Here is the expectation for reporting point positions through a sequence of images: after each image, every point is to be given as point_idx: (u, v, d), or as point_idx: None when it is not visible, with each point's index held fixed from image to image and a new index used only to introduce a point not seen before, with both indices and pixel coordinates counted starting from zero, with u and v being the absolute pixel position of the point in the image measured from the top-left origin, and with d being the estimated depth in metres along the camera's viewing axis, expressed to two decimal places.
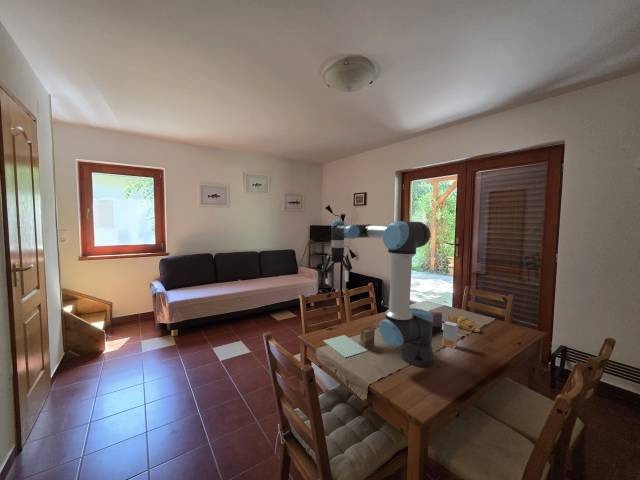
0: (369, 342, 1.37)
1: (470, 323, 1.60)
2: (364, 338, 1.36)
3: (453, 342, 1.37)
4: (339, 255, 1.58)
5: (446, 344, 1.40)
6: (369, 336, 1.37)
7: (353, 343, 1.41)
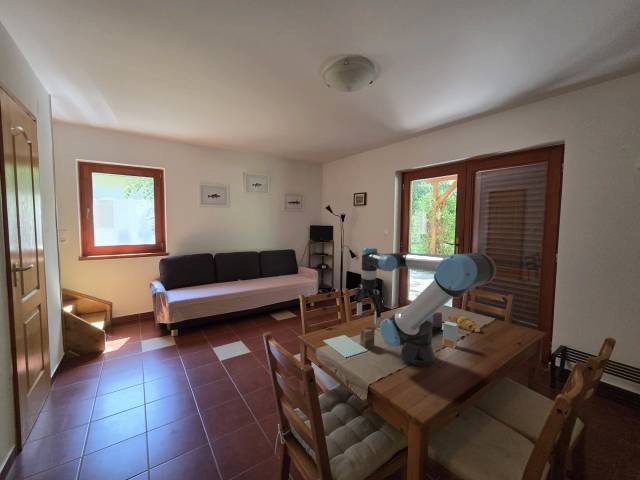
0: (369, 342, 1.37)
1: (470, 323, 1.60)
2: (364, 338, 1.36)
3: (453, 342, 1.37)
4: (367, 288, 1.35)
5: (446, 344, 1.40)
6: (369, 336, 1.37)
7: (353, 343, 1.41)
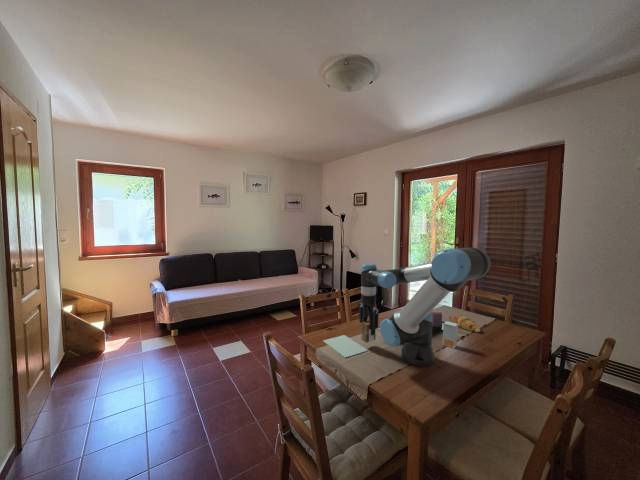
0: None
1: (471, 323, 1.60)
2: (365, 331, 1.35)
3: (453, 342, 1.37)
4: (367, 304, 1.36)
5: (446, 344, 1.40)
6: None
7: (353, 343, 1.41)
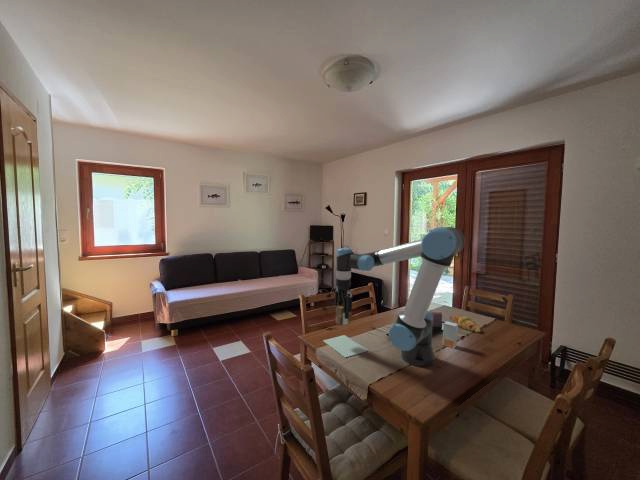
0: None
1: (471, 323, 1.60)
2: (339, 314, 1.37)
3: (453, 342, 1.37)
4: (342, 288, 1.37)
5: (446, 344, 1.40)
6: None
7: (353, 343, 1.41)
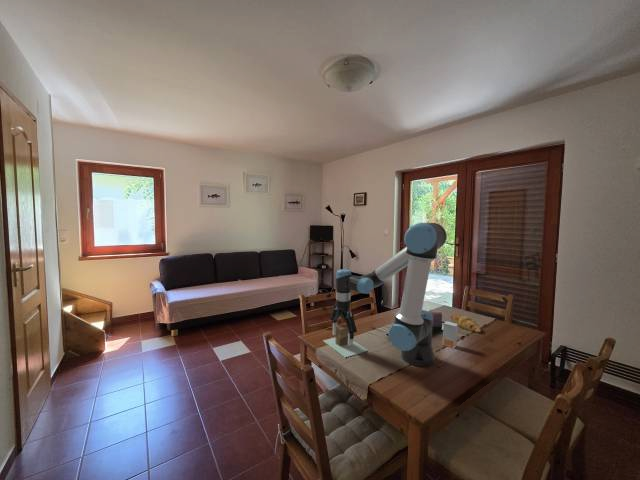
0: (344, 339, 1.39)
1: (471, 323, 1.60)
2: (339, 335, 1.38)
3: (453, 342, 1.37)
4: (341, 309, 1.38)
5: (446, 344, 1.40)
6: (344, 333, 1.38)
7: (353, 343, 1.41)
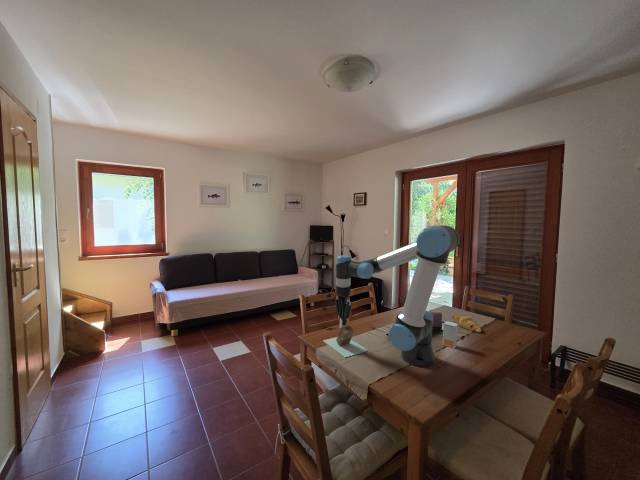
0: (345, 341, 1.38)
1: (472, 323, 1.60)
2: (341, 337, 1.36)
3: (453, 342, 1.37)
4: (342, 295, 1.38)
5: (446, 344, 1.40)
6: (347, 336, 1.36)
7: (353, 343, 1.41)
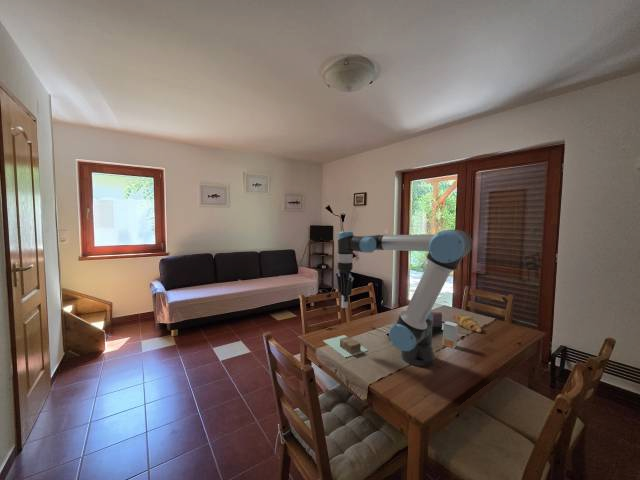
0: None
1: (472, 323, 1.60)
2: (346, 349, 1.33)
3: (453, 342, 1.37)
4: (343, 271, 1.35)
5: (446, 344, 1.40)
6: None
7: None
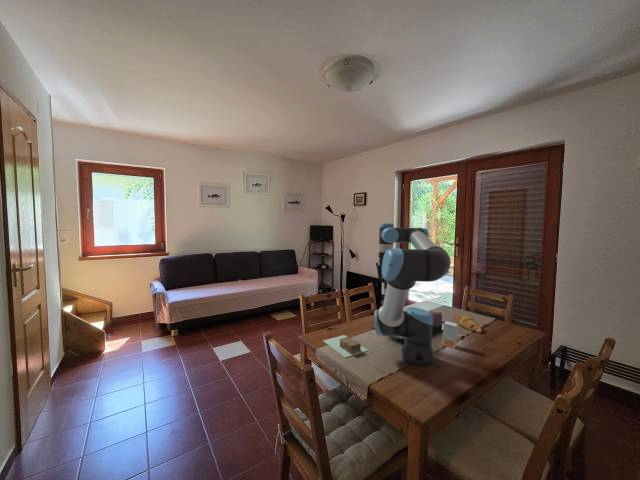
0: None
1: (473, 323, 1.60)
2: (346, 349, 1.33)
3: (453, 342, 1.37)
4: None
5: (446, 344, 1.40)
6: None
7: None
